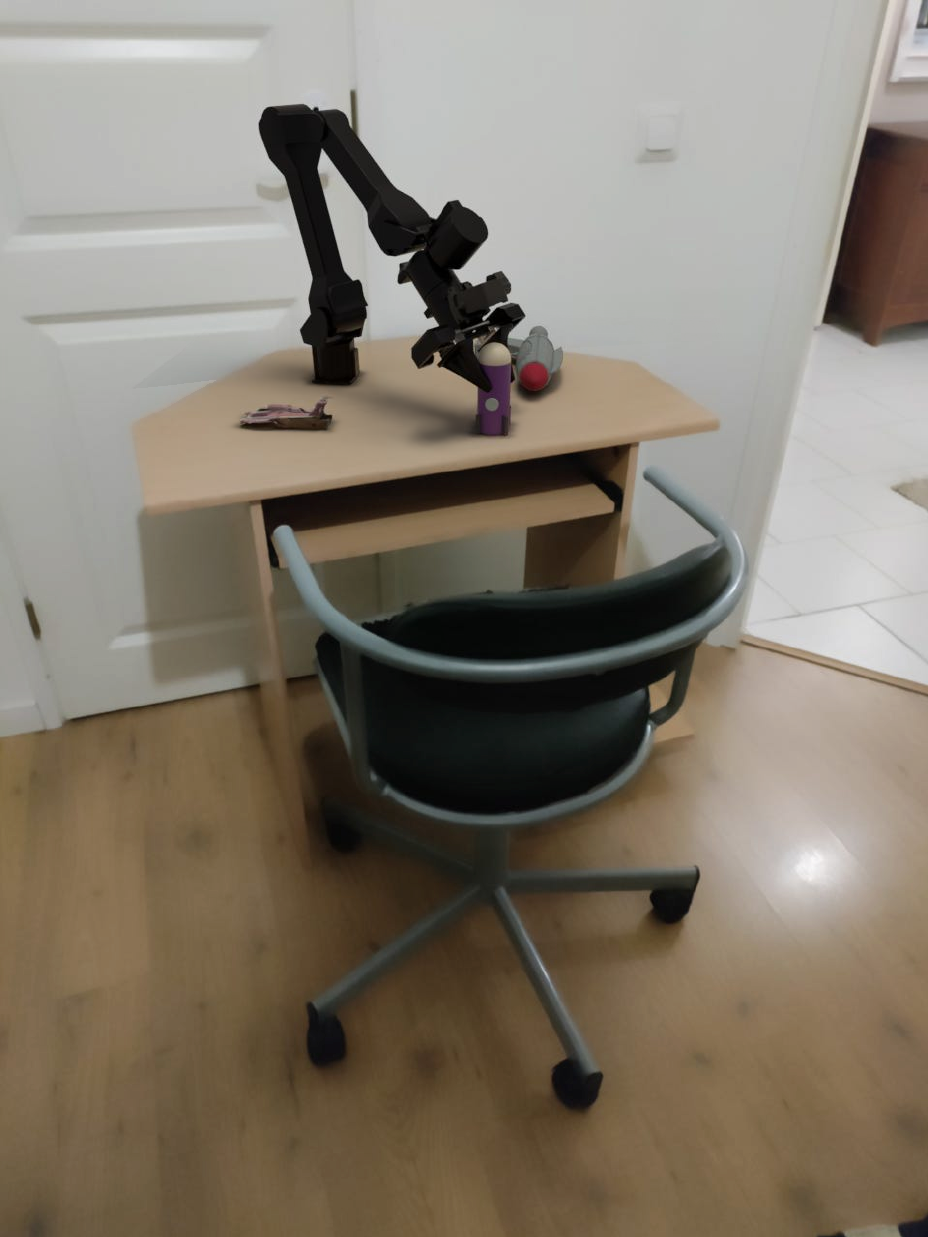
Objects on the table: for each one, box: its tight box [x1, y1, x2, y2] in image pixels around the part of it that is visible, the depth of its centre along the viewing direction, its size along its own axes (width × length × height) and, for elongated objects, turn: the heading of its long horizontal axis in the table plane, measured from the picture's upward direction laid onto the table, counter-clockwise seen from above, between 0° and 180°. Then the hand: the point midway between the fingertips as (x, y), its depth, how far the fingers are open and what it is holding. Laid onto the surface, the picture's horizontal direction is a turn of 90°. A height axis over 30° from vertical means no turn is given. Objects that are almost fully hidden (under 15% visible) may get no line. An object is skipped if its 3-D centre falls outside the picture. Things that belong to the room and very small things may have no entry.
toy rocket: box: [475, 342, 512, 436], centre depth 125 cm, size 5×5×12 cm
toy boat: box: [239, 395, 333, 430], centre depth 129 cm, size 13×6×4 cm, turn 84°
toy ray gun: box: [473, 325, 564, 392], centre depth 147 cm, size 6×25×15 cm
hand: (501, 386), depth 124 cm, fingers closed on toy rocket, 4 cm apart
